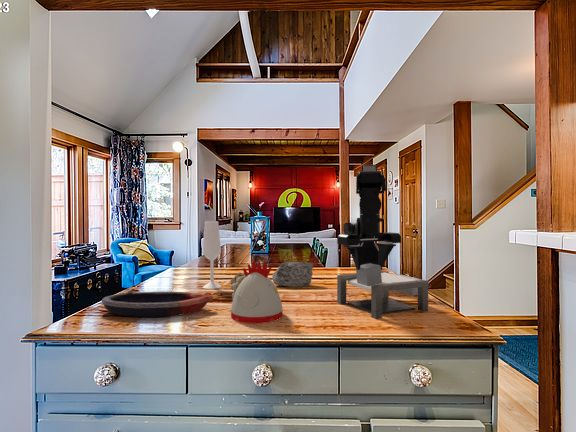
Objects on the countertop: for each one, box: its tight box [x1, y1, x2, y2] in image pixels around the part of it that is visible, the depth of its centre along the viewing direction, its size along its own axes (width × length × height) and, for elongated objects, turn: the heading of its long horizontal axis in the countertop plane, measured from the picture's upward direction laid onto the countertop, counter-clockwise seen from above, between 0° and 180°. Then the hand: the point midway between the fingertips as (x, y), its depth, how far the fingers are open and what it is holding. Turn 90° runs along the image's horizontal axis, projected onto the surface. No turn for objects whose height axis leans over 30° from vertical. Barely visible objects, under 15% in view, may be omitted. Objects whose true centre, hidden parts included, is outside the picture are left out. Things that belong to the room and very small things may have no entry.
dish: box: [101, 290, 214, 318], centre depth 110 cm, size 16×31×5 cm, turn 88°
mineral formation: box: [229, 271, 246, 299], centre depth 128 cm, size 8×13×15 cm
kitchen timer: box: [230, 259, 283, 324], centre depth 106 cm, size 14×14×15 cm
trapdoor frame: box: [336, 270, 429, 320], centre depth 115 cm, size 18×19×8 cm
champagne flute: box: [201, 220, 222, 290], centre depth 143 cm, size 7×7×24 cm
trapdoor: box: [347, 272, 422, 296], centre depth 115 cm, size 18×14×5 cm
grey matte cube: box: [355, 263, 382, 286], centre depth 113 cm, size 5×5×5 cm
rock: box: [271, 261, 314, 288], centre depth 146 cm, size 16×8×10 cm, turn 84°
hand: (369, 268), depth 113 cm, fingers open, 8 cm apart
